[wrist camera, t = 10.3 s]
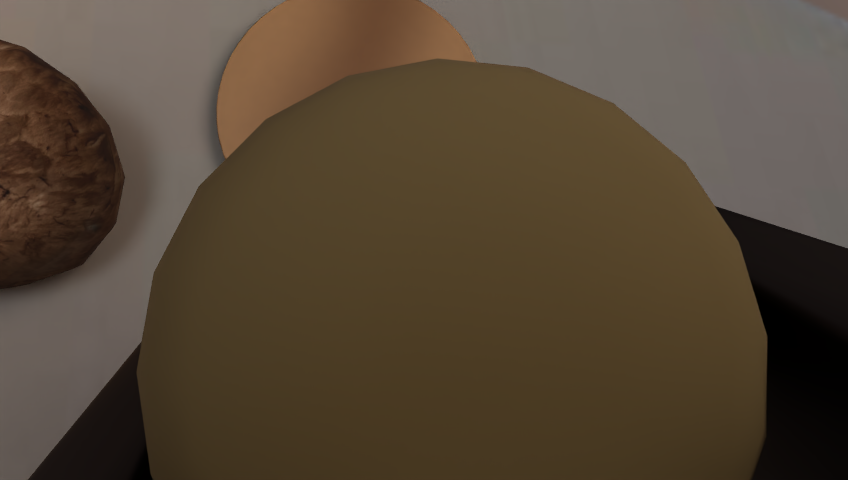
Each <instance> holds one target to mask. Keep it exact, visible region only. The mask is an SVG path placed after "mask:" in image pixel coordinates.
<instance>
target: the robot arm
mask: <svg viewBox="0 0 848 480" xmlns="http://www.w3.org/2000/svg"><path fill="white" fill-rule="evenodd" d="M715 207H716V206H715ZM716 209H717V210H718V212H719V213H720V215H721V216H722V218H723V219H724V221H725V222H726V224H727V225H728V227H729V228H730V230H731V231H732V233H733V234H734V236H735V237H736V239H737V240H738V242H739V245H740V248H741V251H742V255H743V258H744V261H745V264H746V268H747V271H748V274H749V278H750V281H751V284H752V287H753V291H754V294H755V297H756V301H757V304H758V307H759V311H760V314H761V317H762V320H763V324H764V327H765V330H766V334H767V429H766V440H765V443H764V446H763V449H762V452H761V455H760V458H759V461H758V464H757V467H756V470H755V473H754V476H753V479H752V480H848V248H845V247H841V246H838V245H835V244H832V243H829V242H826V241H823V240H819V239H816V238H813V237H810V236H807V235H804V234H801V233H798V232H794V231H791V230H788V229H785V228H782V227H779V226H776V225H772V224H769V223H766V222H763V221H760V220H757V219H754V218H751V217H747V216H744V215H741V214H738V213H735V212H732V211H729V210H726V209H722V208H719V207H716ZM141 343H142V342H141ZM141 343H140V344H139V345H138V347H137V348H136V349H135V350H134V352H133V353H132V354H131V355H130V356H129V358H128V359H127V360H126V361H125V362H124V364H123V365H122V366H121V367H120V369H119V370H118V371H117V372H116V373H115V375H114V376H113V377H112V378H111V379H110V381H109V382H108V383H107V384H106V386H105V387H104V388H103V389H102V390H101V392H100V393H99V394H98V395H97V396H96V398H95V399H94V400H93V401H92V402H91V404H90V405H89V406H88V407H87V409H86V410H85V411H84V412H83V413H82V415H81V416H80V417H79V418H78V419H77V421H76V422H75V423H74V424H73V426H72V427H71V428H70V429H69V430H68V432H67V433H66V434H65V435H64V436H63V438H62V439H61V440H60V441H59V443H58V444H57V445H56V446H55V447H54V449H53V450H52V451H51V452H50V453H49V455H48V456H47V457H46V458H45V459H44V461H43V462H42V463H41V464H40V466H39V467H38V468H37V469H36V470H35V472H34V473H33V474H32V475H31V476H30V478H29V479H28V480H153V478H152V476H151V473H150V466H149V459H148V451H147V444H146V437H145V430H144V423H143V415H142V408H141V401H140V394H139V387H138V379H137V366H138V360H139V355H140V349H141Z"/></svg>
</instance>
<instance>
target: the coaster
mask: <svg viewBox="0 0 848 480" xmlns="http://www.w3.org/2000/svg"><path fill="white" fill-rule="evenodd" d="M437 58H439V59H449V60H459V61H468V62H476V60H475V58H474V56H473V54H472V52H471V50H470V49H469V47H468V45H467V44H466V43H465V41H464V40H463V38H462V37H461V36H460V34H459V33H458V32H457V31H456V30H455V29H454V28H453V26H452V25H451V24H450V23H449V22H448V21H447V20H446V19H444V18H443V17H442V16H441V15H440V14H438V13H437V12H436V11H435V10H433V9H432V8H430V7H429V6H427V5H425V4H424V3H422V2H421V1H419V0H287V1H285V2H283V3H282V4H280V5H278V6H276V7H275V8H273V9H272V10H271V11H269V12H268V13H267V14H265V15H264V16H263V17H261V18H260V19H259V20H258V21H257V22H256V23H255V24H254V25H253V26H252V27H251V28H250V29H249V30H248V32H247V33H246V34H245V35H244V37H243V38H242V39H241V40H240V42H239V43H238V45H237V46H236V48H235V50H234V51H233V53H232V55H231V57H230V58H229V61H228V63H227V66H226V68H225V70H224V73H223V76H222V79H221V83H220V87H219V91H218V99H217V129H218V136H219V141H220V145H221V148H222V151H223V155H224V158H225V160H226V159H227V158H228V157H229V156H230V155H231V154H232V153H233V152H234V151H235V150H236V149H237V148H238V147H239V146H240V145H241V144H242V143H243V142H244V141H245V140H246V139H247V138H248V137H249V136H250V135H251V134H252V133H253V132H254V131H255V130H256V129H257V128H258V127H259V126H260V124H261V123H262V122H263V121H264V120H265V119H267V118H269V117H271V116H273V115H275V114H276V113H278V112H280V111H282V110H284V109H286V108H288V107H290V106H292V105H293V104H295V103H297V102H299V101H301V100H303V99H305V98H307V97H308V96H310V95H312V94H314V93H316V92H318V91H320V90H322V89H324V88H325V87H327V86H329V85H331V84H333V83H335V82H337V81H339V80H340V79H342V78H344V77H346V76H349V75H354V74H359V73H364V72H369V71H374V70H380V69H385V68H390V67H395V66H400V65H406V64H411V63H416V62H421V61H426V60H431V59H437Z"/></svg>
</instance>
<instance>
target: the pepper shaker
mask: <svg viewBox="0 0 848 480" xmlns="http://www.w3.org/2000/svg"><path fill="white" fill-rule="evenodd" d="M137 379H138V387H139V394H140V401H141V408H142V415H143V423H144V430H145V437H146V444H147V451H148V459H149V466H150V473H151V476H152V478H153V480H752V479H753V476H754V473H755V470H756V467H757V464H758V461H759V458H760V455H761V452H762V449H763V446H764V443H765V440H766V429H767V334H766V330H765V327H764V324H763V320H762V317H761V314H760V311H759V307H758V304H757V301H756V297H755V294H754V291H753V287H752V284H751V281H750V278H749V274H748V271H747V268H746V264H745V261H744V258H743V255H742V251H741V248H740V245H739V242H738V240H737V239H736V237H735V236H734V234H733V233H732V231H731V230H730V228H729V227H728V225H727V224H726V222H725V221H724V219H723V218H722V216H721V215H720V213H719V212H718V210H717V209H716V207H715V206H714V204H713V203H712V202H711V200H710V199H709V197H708V196H707V194H706V193H705V191H704V190H703V188H702V187H701V185H700V184H699V182H698V181H697V179H696V178H695V176H694V175H693V173H692V172H691V170H690V169H689V167H688V166H687V164H686V163H685V162H684V161H683V160H682V159H680V158H679V157H678V156H677V155H676V154H674V153H673V152H672V151H671V150H669V149H668V148H667V147H666V146H665V145H663V144H662V143H661V142H660V141H658V140H657V139H656V138H655V137H654V136H652V135H651V134H650V133H649V132H648V131H646V130H645V129H644V128H643V127H641V126H640V125H639V124H638V123H637V122H635V121H634V120H633V119H632V118H631V117H629V116H628V115H627V114H626V113H624V112H623V111H622V110H621V109H620V108H618V107H617V106H616V105H615V104H613V103H611V102H609V101H607V100H604V99H602V98H599V97H597V96H595V95H592V94H590V93H587V92H585V91H583V90H580V89H578V88H575V87H573V86H571V85H568V84H566V83H564V82H561V81H559V80H556V79H554V78H552V77H549V76H547V75H544V74H542V73H540V72H537V71H535V70H532V69H530V68H526V67H516V66H507V65H497V64H487V63H478V62H468V61H459V60H449V59H439V58H437V59H431V60H426V61H421V62H416V63H411V64H406V65H400V66H395V67H390V68H385V69H380V70H374V71H369V72H364V73H359V74H354V75H349V76H346V77H344V78H342V79H340V80H339V81H337V82H335V83H333V84H331V85H329V86H327V87H325V88H324V89H322V90H320V91H318V92H316V93H314V94H312V95H310V96H308V97H307V98H305V99H303V100H301V101H299V102H297V103H295V104H293V105H292V106H290V107H288V108H286V109H284V110H282V111H280V112H278V113H276V114H275V115H273V116H271V117H269V118H267V119H265V120H264V121H263V122H262V123H261V124H260V126H259V127H258V128H257V129H256V130H255V131H254V132H253V133H252V134H251V135H250V136H249V137H248V138H247V139H246V140H245V141H244V142H243V143H242V144H241V145H240V146H239V147H238V148H237V149H236V150H235V151H234V152H233V153H232V154H231V155H230V156H229V157H228V158H227V159H226V160H225V161H224V162H223V163H222V164H221V165H220V166H219V167H218V168H217V169H216V170H215V171H214V172H213V173H212V174H211V175H210V176H209V177H208V178H207V179H206V180H205V181H204V182H203V183H202V184H201V185H200V186H199V187H198V189H197V191H196V193H195V195H194V197H193V199H192V201H191V203H190V204H189V206H188V208H187V210H186V212H185V214H184V216H183V218H182V220H181V222H180V224H179V226H178V228H177V229H176V231H175V233H174V235H173V237H172V239H171V241H170V243H169V245H168V247H167V249H166V251H165V252H164V254H163V256H162V258H161V260H160V262H159V264H158V266H157V268H156V270H155V272H154V275H153V281H152V286H151V292H150V298H149V303H148V309H147V315H146V321H145V326H144V332H143V338H142V343H141V349H140V355H139V360H138V366H137Z"/></svg>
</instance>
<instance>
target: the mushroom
mask: <svg viewBox="0 0 848 480" xmlns="http://www.w3.org/2000/svg"><path fill="white" fill-rule="evenodd" d="M124 179H125V176H124V172H123V169H122V165H121V162H120V159H119V156H118V153H117V149H116V146H115V143H114V140H113V136H112V133H111V130H110V127H109V125H108V124H107V123H106V121H105V120H104V119H103V117H102V116H101V115H100V114H99V112H98V111H97V110H96V108H95V107H94V106H93V105H92V103H91V102H90V101H89V100H88V98H87V97H86V96H85V94H84V93H83V92H82V91H81V89H80V88H79V87H78V85H77V84H76V83H75V82H74V81H72V80H71V79H69V78H68V77H66V76H65V75H63V74H62V73H61V72H59V71H58V70H56V69H55V68H53V67H52V66H51V65H49V64H48V63H46V62H45V61H43V60H42V59H41V58H39V57H38V56H36V55H35V54H33V53H32V52H31V51H29V50H28V49H26V48H24V47H22V46H19V45H15V44H12V43H9V42H6V41H2V40H0V289H4V288H10V287H15V286H21V285H26V284H30V283H33V282H36V281H39V280H42V279H45V278H47V277H50V276H53V275H56V274H59V273H62V272H65V271H68V270H71V269H74V268H76V267H78V266H80V265H82V264H83V263H84V262H85V261H86V260H87V259H88V257H89V256H90V255H91V254H92V252H93V251H94V250H95V249H96V248H97V246H98V245H99V244H100V243H101V241H102V240H103V239H104V238H105V237H106V235H107V234H108V233H109V232H110V230H111V229H112V228H113V226H114V225H115V223H116V220H117V215H118V210H119V205H120V200H121V194H122V189H123V184H124Z"/></svg>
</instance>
